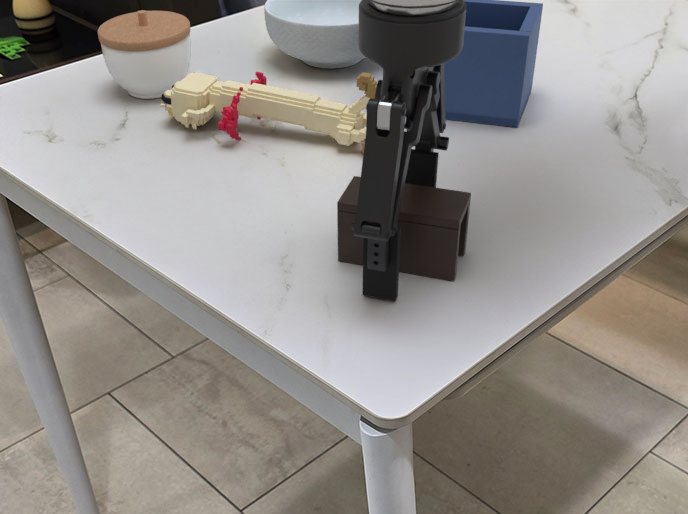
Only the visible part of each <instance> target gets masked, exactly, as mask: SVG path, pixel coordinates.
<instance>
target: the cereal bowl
mask: <svg viewBox="0 0 688 514" xmlns="http://www.w3.org/2000/svg"><path fill="white" fill-rule="evenodd" d="M361 1H362V0H266V1H265V3H264V6H263V15H264V21H265V22H264V23H265V27H266V31H267V33H268V36H269V38H270V40H271V41H272V43H273V44H274V45H275V47H277V49H279V50H280V51H281V52H283V53H284V54H285V55H288V56H290V57H292V58H294V59H297V60H301V61H302V62H303V63H304V64H306V65H308V66H311V67H313V68H319V69H342V68H348V67H351V66H353V65H357V64H359V63H360V62H362V60H363V59H367V58H366V57H365V56H364V55H363V54H362V53H361V52H360V49H359V46H358V31H359V3H360V2H361Z"/></svg>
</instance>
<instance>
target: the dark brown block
mask: <svg viewBox="0 0 688 514" xmlns="http://www.w3.org/2000/svg"><path fill="white" fill-rule="evenodd" d="M360 179H361V176H357V175H354V176H353V177H352V178H351V180H350V182H349V183H348V185H347V186H346V188H345V190H344V191H343V193H342V194H341V196H340V197H339V199H338V200H337V202H336V206H337V207H336V208H337V209H336V210H337V212H336V213H337V215H336V216H337V217H336V218H337V219H336V222H337V261H338V262H343V263H349V264H355V265H360V266H363V237H358V236H355V235H354V229H352V221H355V220H356V212H357V204H358V196H359V187H360ZM471 197H472V193H471V192H470V191H469V192H468V191H462V190H460V191H459V190H455V189H447V188H441V187H436V188H434V187H427V186H420V185H413V184H406V183H405V186H404V191H403V196H402V202H401V207H400V212H399V218H398V223H397V225H398V227H401V238H400V259H399V273H406V274H410V275H415V276H416V275H417V276H423V277H428V278H432V279H433V278H434V279H439V280H445V281H450V282H454V281H455V280H456V277H457V271H458V259H459V256H460V255H461V256H460V257H464V256H465V254H466V252H467V240H468V229H469V220H470V219H469V218H470V208H471V199H472V198H471Z"/></svg>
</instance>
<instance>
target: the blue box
mask: <svg viewBox="0 0 688 514" xmlns="http://www.w3.org/2000/svg"><path fill="white" fill-rule="evenodd" d="M464 1H465V3H466V18H465V29H464V41H463V48H462V50H461V52H460V53H459V55H458V56H457V57H455V58H454V59H453V60H451V61H449V62H447V63H444V85H445V120H450V121H457V122H466V123H474V124H483V125H484V124H485V125H493V126H500V127H501V126H502V127H510V128H519V126H520V123H521V120H522V118H523V115H524V112H525V109H526V107H527V104H528V101H529V98H530V96H531V93H532V90H533V82H534V74H535V68H536V60H537V54H538V44H539V39H540V30H541V22H542V16H543V7H544V3H543V2H542V3H541V2H527V1H514V0H513V1H512V0H464ZM383 74H384V70H383V69H382V75H383Z"/></svg>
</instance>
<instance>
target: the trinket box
mask: <svg viewBox="0 0 688 514" xmlns="http://www.w3.org/2000/svg"><path fill="white" fill-rule="evenodd" d="M97 36H98V41H99V43H100V47H101V51H102V52H101V53H102V57H103V59H104V63H105V66H106V68H107V70H108V73H109V74H110V76H111V77H112V79H113V81H114V82H115V83H116V84H117V85H118V86H120V87H121V88H122V89H124V90H125V91H127V93H128V95H129V96H131V97H134V98H136V99H142V100H151V99H160V98H162V96H161V95H162V94H163V93H164V92H165V91H167V90H171V89H172V86H173V85H174V84H175V83H176V82H177V81H179V82H180V81H181V80H182V79H183V78H185V77H186V76H187V75H188V72H189V69H190V66H191V59H192V38H191V22H190V20H189V18H187V16H185V15H183V14H180V13H178V12H174V11H168V10H145V9H141V10H137V11H134V12H128V13H124V14H120V15H117V16H114V17H112V18H110V19H108V20H106V21H104V22H103V23H102V24H100V25H99V27H98V29H97Z"/></svg>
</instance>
